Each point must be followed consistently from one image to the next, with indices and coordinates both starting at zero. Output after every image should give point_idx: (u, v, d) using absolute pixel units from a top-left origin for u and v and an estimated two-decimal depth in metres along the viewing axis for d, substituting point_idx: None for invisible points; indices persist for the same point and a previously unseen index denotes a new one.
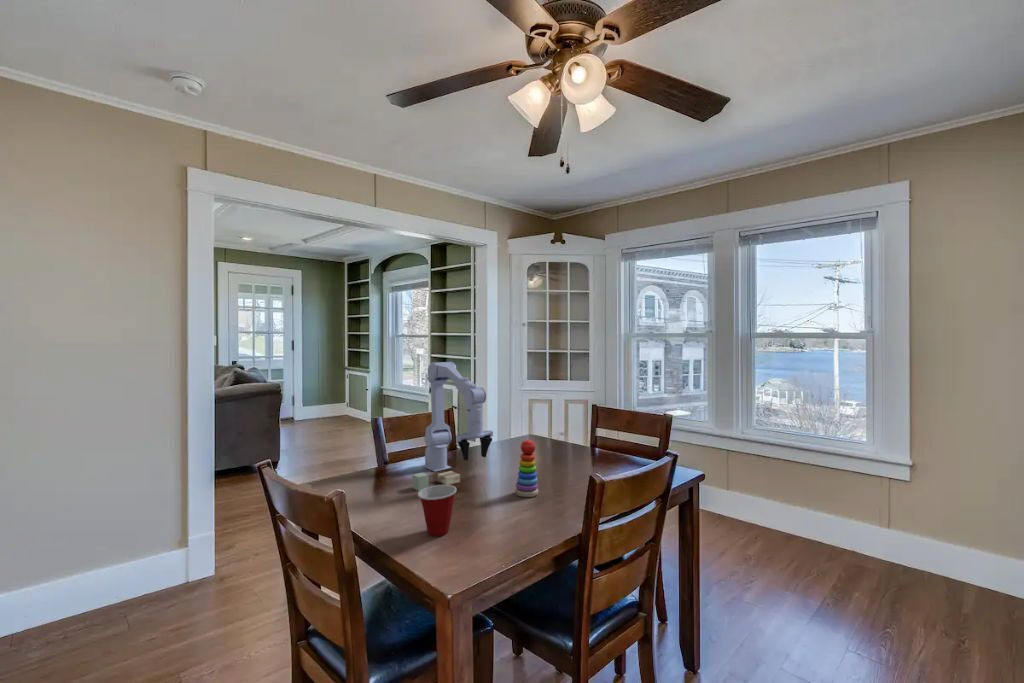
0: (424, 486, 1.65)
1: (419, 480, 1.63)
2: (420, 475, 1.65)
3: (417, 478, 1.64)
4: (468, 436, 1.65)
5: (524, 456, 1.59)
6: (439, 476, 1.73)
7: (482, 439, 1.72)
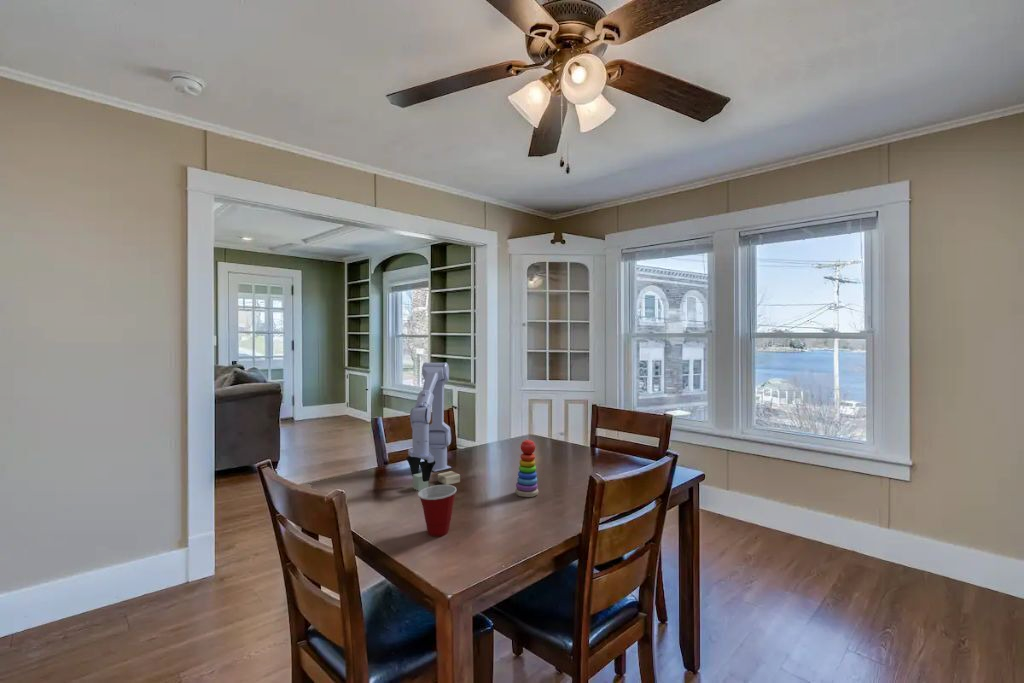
0: (424, 486, 1.65)
1: (419, 480, 1.63)
2: (420, 475, 1.65)
3: (417, 478, 1.64)
4: (410, 452, 1.67)
5: (524, 456, 1.59)
6: (439, 476, 1.73)
7: None
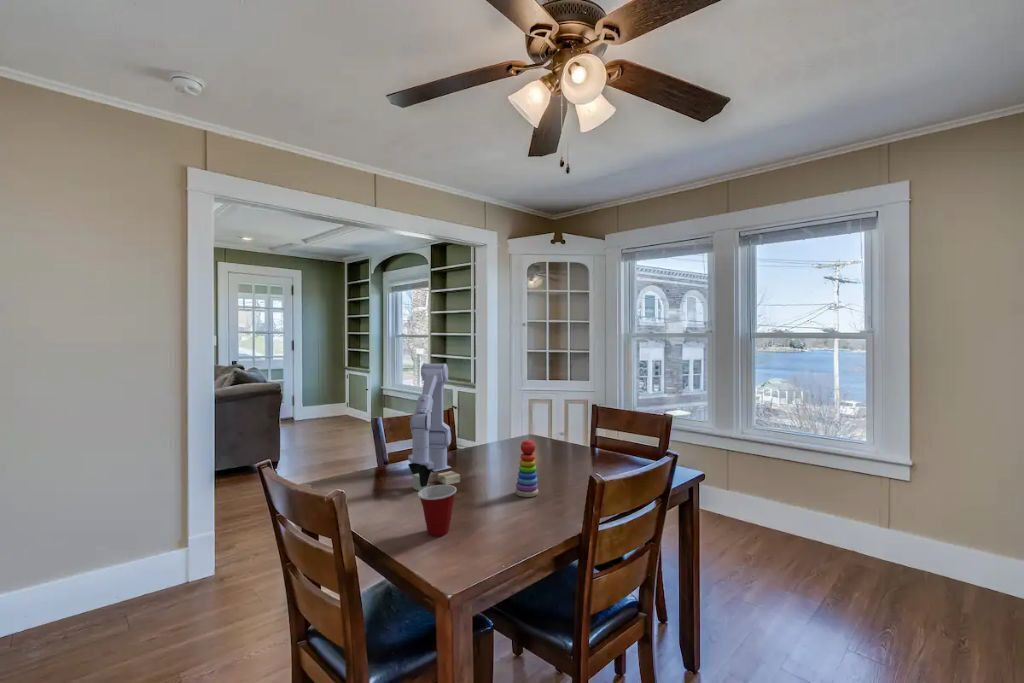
0: (424, 486, 1.65)
1: (419, 480, 1.63)
2: None
3: (417, 478, 1.64)
4: (410, 458, 1.67)
5: (524, 456, 1.59)
6: (439, 476, 1.73)
7: None
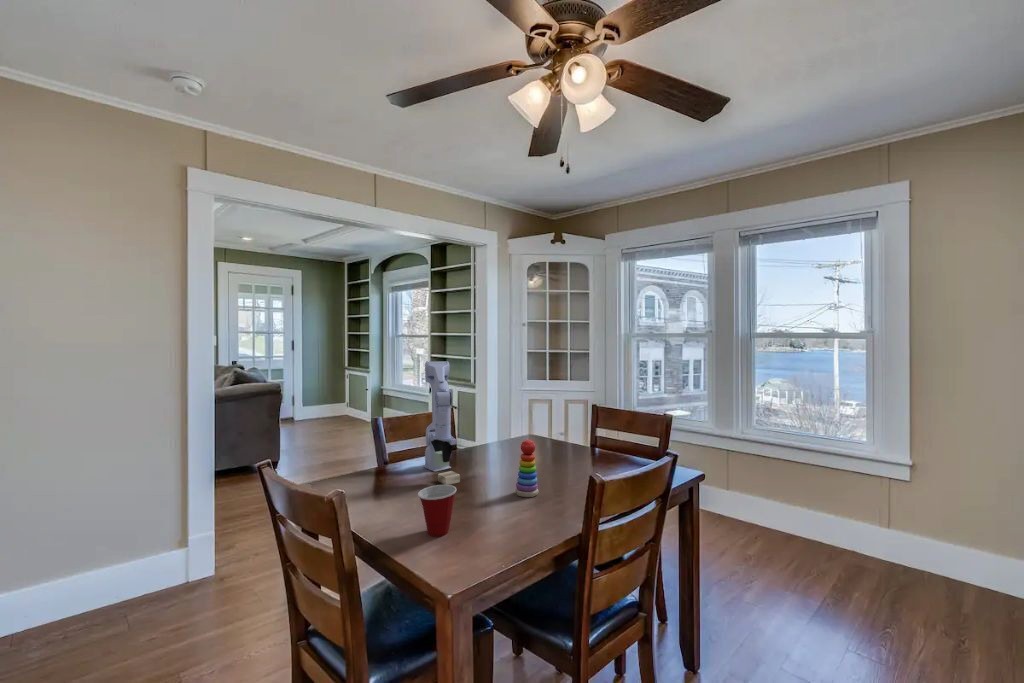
0: (445, 463, 1.71)
1: (441, 457, 1.69)
2: (441, 452, 1.71)
3: (438, 455, 1.69)
4: (433, 435, 1.74)
5: (524, 456, 1.59)
6: (439, 476, 1.73)
7: None
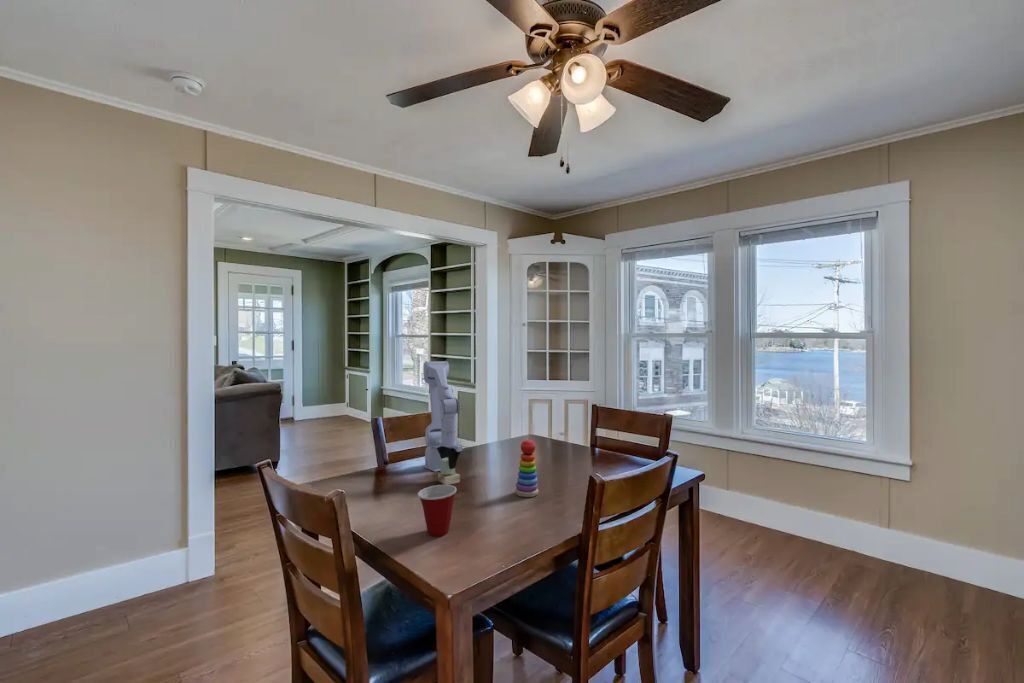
0: (451, 470, 1.72)
1: (447, 464, 1.71)
2: (447, 459, 1.73)
3: (445, 462, 1.71)
4: (439, 442, 1.75)
5: (524, 456, 1.59)
6: (439, 476, 1.73)
7: None
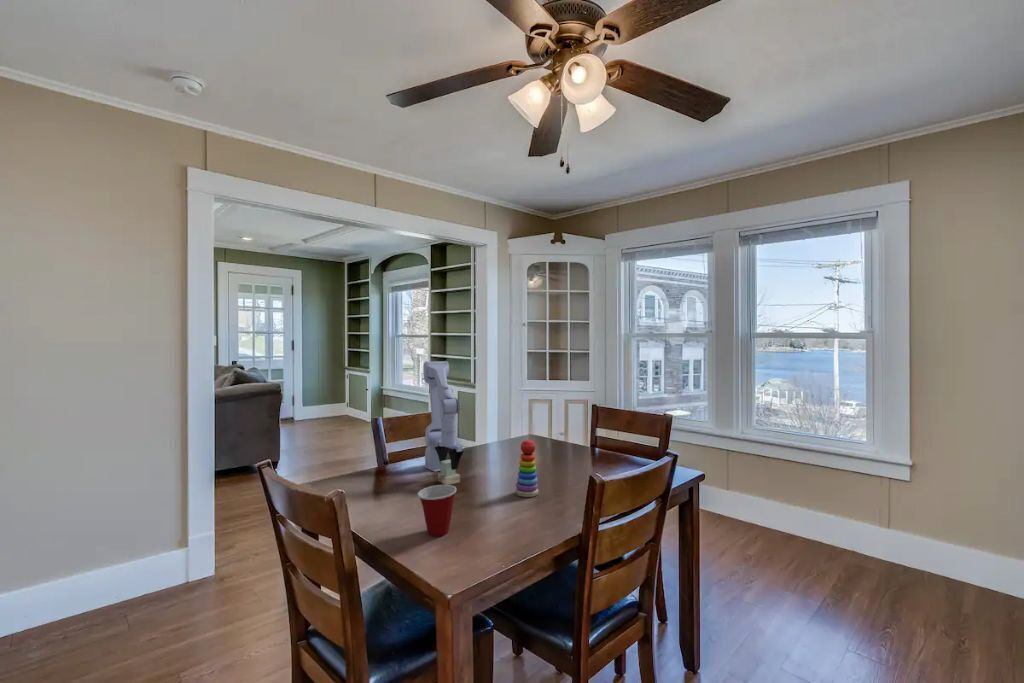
0: (451, 472, 1.72)
1: (447, 467, 1.71)
2: (447, 461, 1.73)
3: (445, 464, 1.71)
4: (439, 442, 1.75)
5: (524, 456, 1.59)
6: (439, 476, 1.73)
7: None
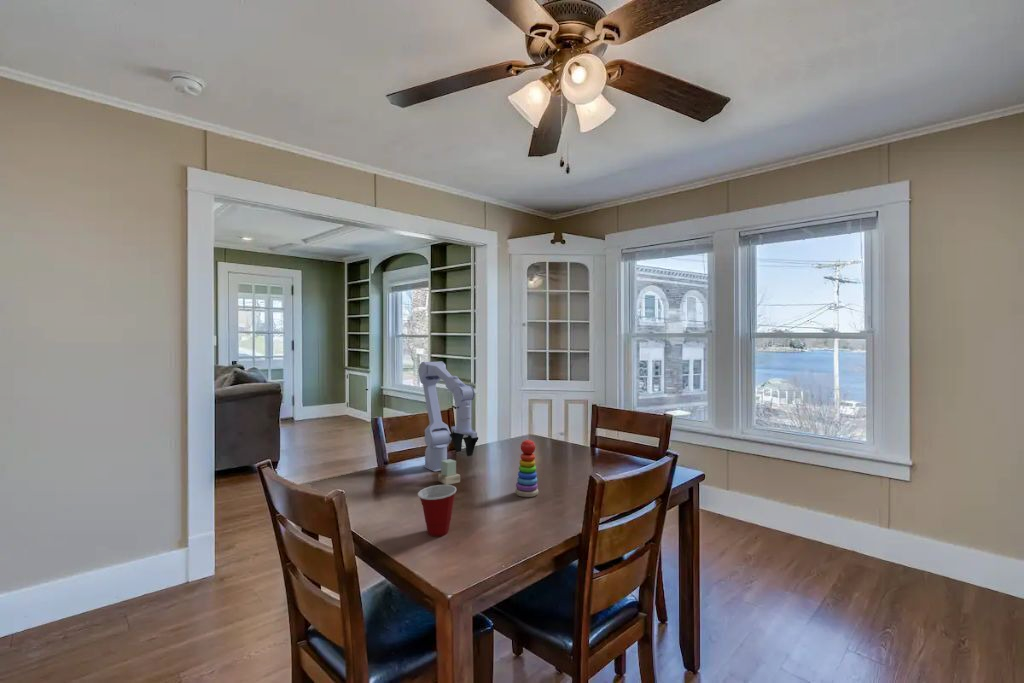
0: (452, 472, 1.73)
1: (448, 466, 1.71)
2: (448, 461, 1.73)
3: (446, 464, 1.71)
4: (454, 429, 1.77)
5: (524, 456, 1.59)
6: (439, 476, 1.74)
7: None
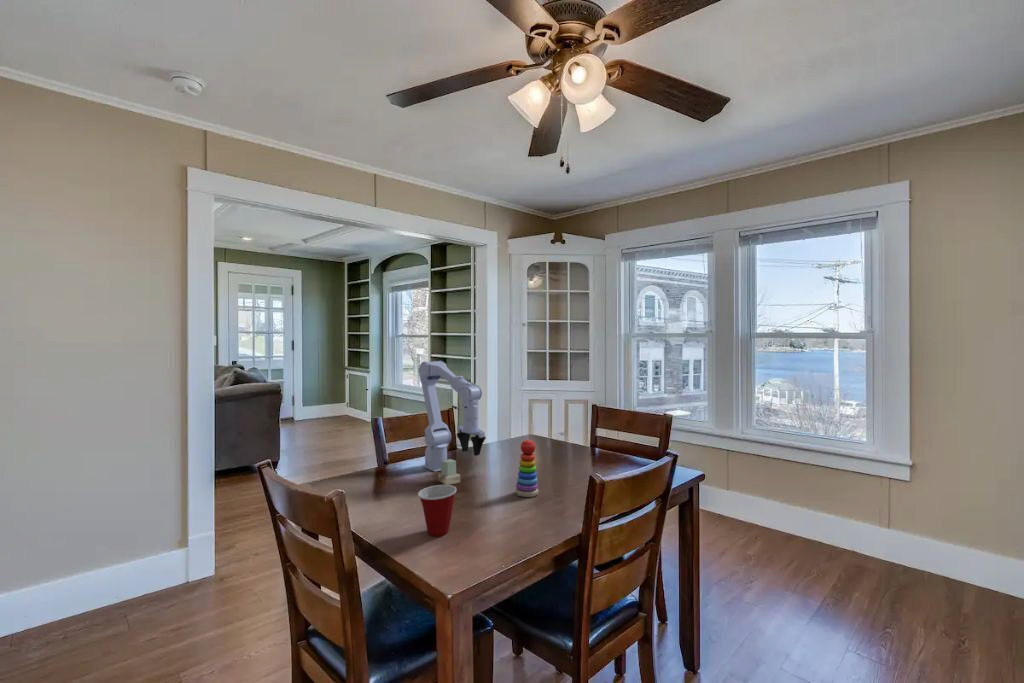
0: (452, 472, 1.73)
1: (448, 466, 1.71)
2: (448, 461, 1.73)
3: (446, 464, 1.72)
4: (461, 429, 1.78)
5: (524, 456, 1.59)
6: (439, 476, 1.73)
7: None
